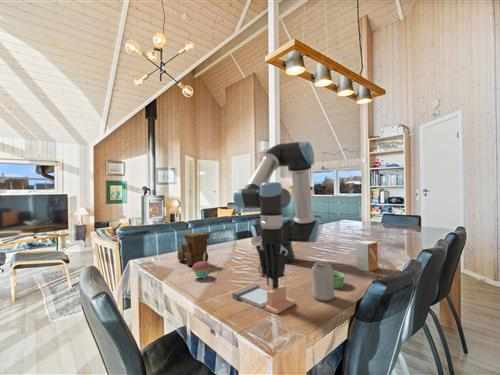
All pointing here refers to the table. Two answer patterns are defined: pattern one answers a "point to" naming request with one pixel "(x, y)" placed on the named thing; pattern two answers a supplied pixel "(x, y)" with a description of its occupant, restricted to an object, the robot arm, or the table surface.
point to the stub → (278, 300)
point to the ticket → (252, 295)
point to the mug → (260, 268)
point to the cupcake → (201, 268)
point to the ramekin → (338, 279)
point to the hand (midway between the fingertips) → (273, 296)
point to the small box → (366, 255)
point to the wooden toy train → (194, 248)
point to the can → (322, 281)
